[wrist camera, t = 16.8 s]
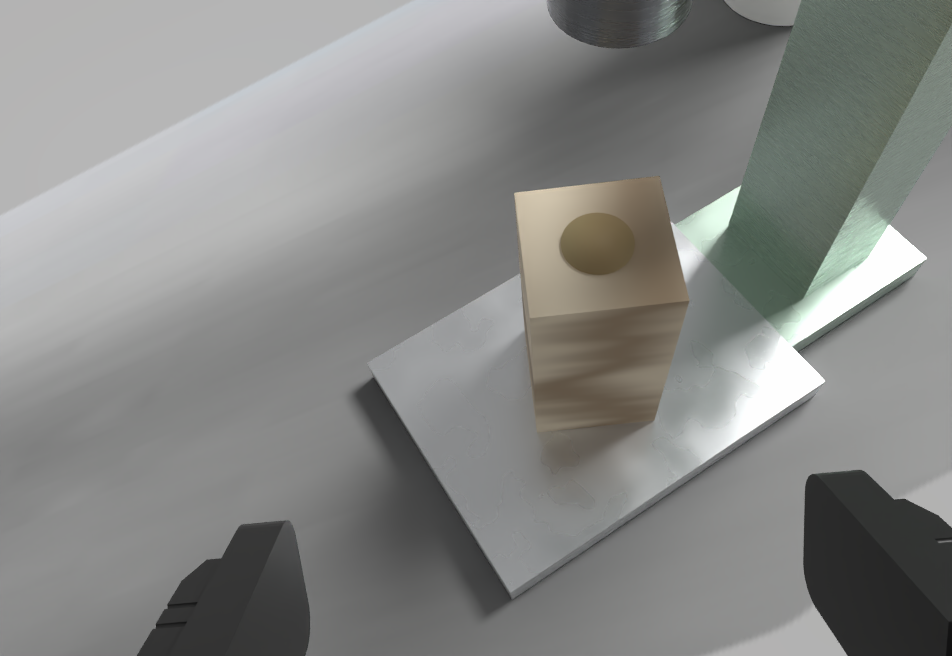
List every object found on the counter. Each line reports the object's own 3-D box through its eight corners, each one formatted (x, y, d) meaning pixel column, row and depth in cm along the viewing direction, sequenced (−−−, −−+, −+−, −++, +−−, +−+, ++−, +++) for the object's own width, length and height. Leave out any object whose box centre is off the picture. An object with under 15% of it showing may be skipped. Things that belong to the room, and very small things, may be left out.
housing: (536, 432, 33) (529, 316, 25) (524, 330, 36) (514, 190, 27) (654, 420, 33) (690, 299, 24) (633, 318, 36) (659, 173, 27)
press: (512, 599, 32) (297, -155, 5) (373, 376, 37) (-73, -544, 11) (1085, 212, 38) (2288, -1021, 12) (895, 69, 43) (1419, -992, 17)
